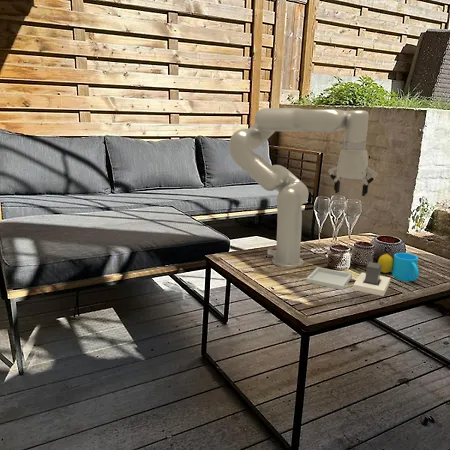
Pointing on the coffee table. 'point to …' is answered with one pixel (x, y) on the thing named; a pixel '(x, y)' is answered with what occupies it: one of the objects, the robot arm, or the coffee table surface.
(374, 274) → the plug
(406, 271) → the mug
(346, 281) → the tray
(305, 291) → the coffee table surface
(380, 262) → the lemon
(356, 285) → the block
